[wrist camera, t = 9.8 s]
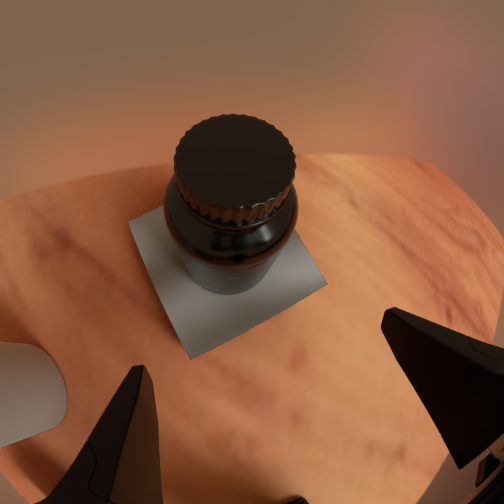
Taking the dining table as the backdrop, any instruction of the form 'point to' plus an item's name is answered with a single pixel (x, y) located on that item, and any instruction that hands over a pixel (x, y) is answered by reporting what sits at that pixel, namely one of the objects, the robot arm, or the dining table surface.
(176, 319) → the plate
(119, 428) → the robot arm
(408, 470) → the dining table surface
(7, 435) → the mug
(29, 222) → the dining table surface
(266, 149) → the supplement bottle
